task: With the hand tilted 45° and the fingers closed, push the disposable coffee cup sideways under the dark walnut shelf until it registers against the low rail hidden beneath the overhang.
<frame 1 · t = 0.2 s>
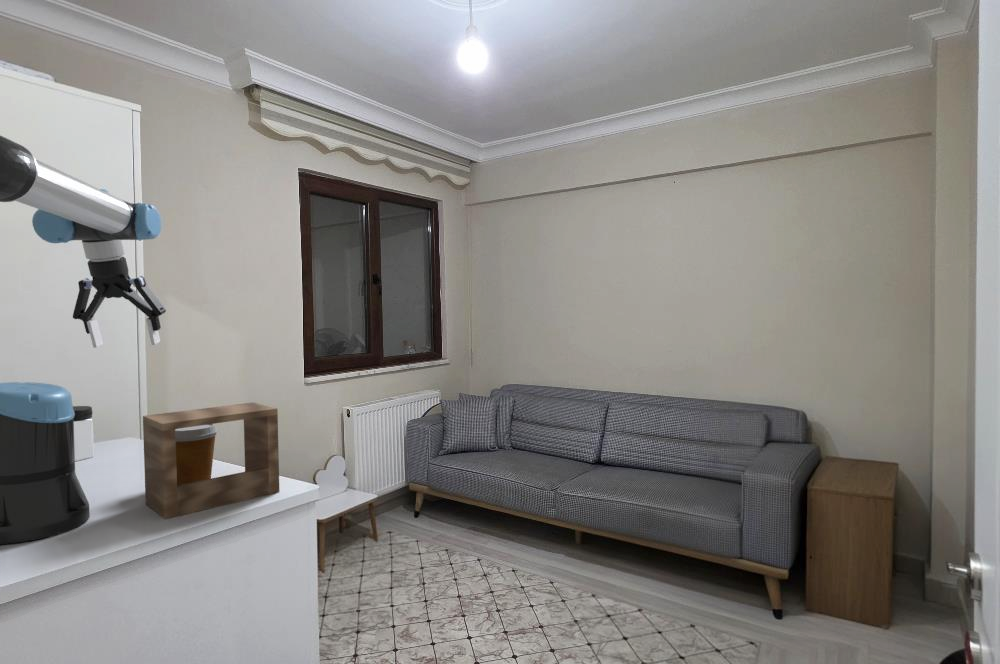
hand: (127, 344, 142), 27 cm above the table, tool tilted 15°, fingers open, 13 cm apart
disposable coffee cup: (193, 486, 118), on the table
walnut shelf: (214, 497, 110), on the table
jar: (73, 459, 141), on the table
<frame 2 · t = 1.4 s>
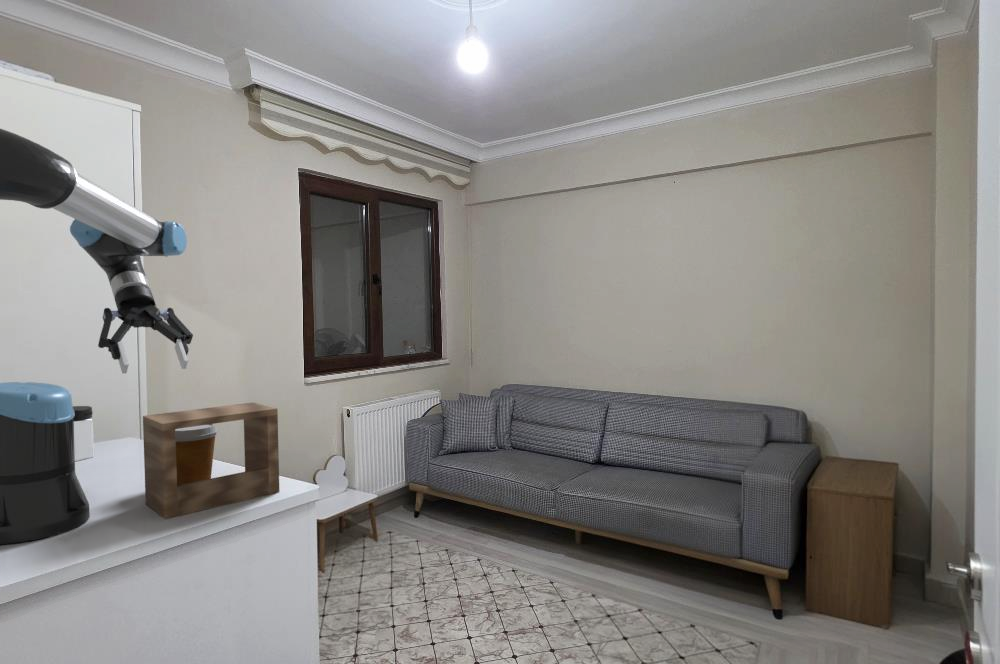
hand: (156, 367, 125), 23 cm above the table, tool tilted 45°, fingers open, 11 cm apart
nothing on the table moved.
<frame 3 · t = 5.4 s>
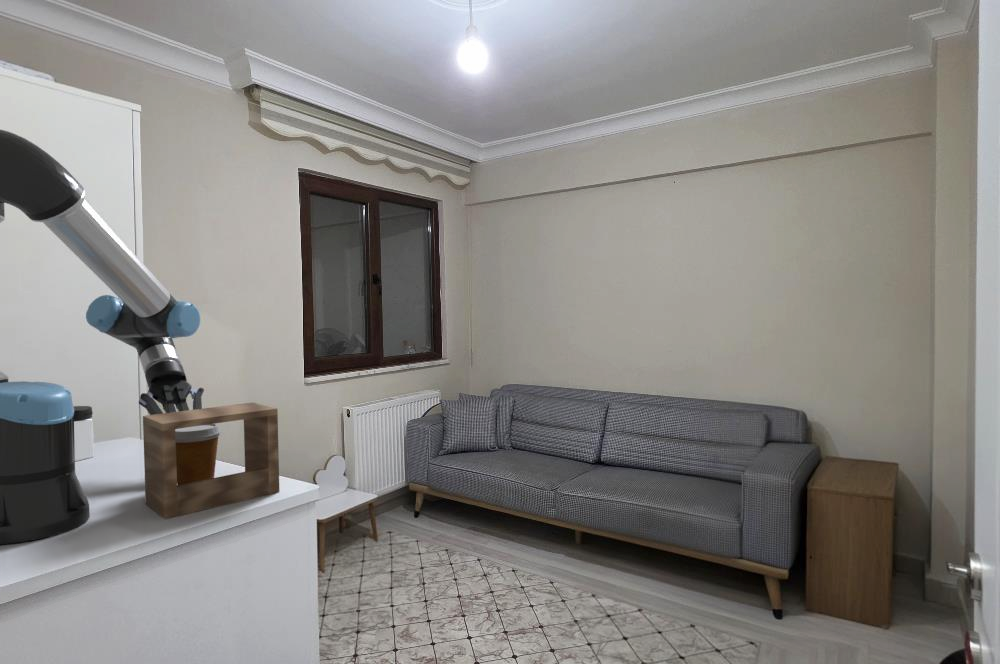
hand: (192, 456, 121), 5 cm above the table, tool tilted 45°, fingers closed
disposable coffee cup: (195, 487, 117), on the table, touching gripper
everything else where it was.
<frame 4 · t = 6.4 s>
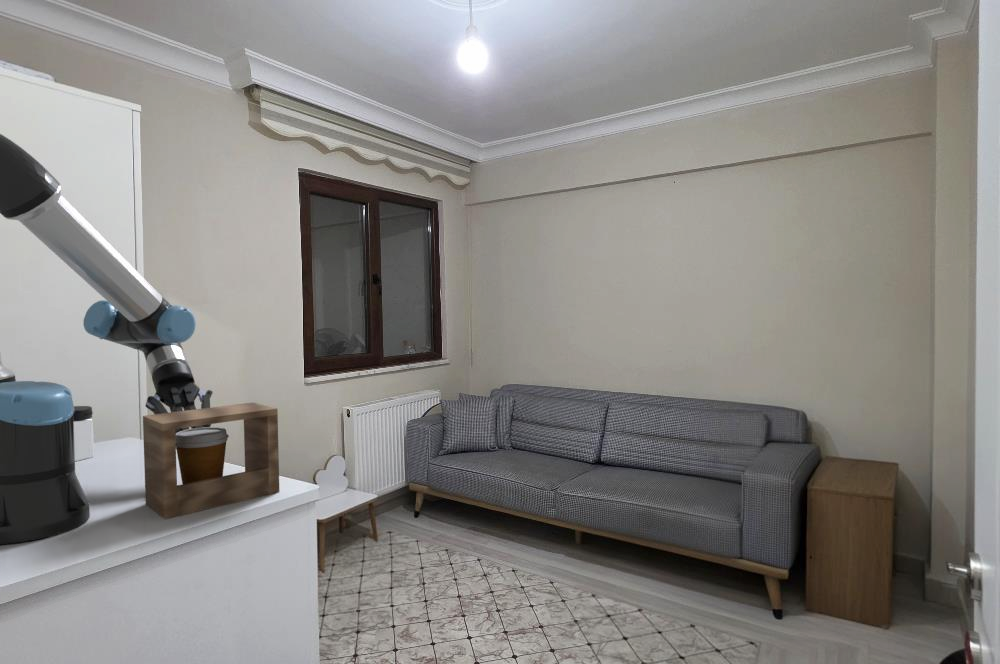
hand: (201, 461, 117), 5 cm above the table, tool tilted 45°, fingers closed
disposable coffee cup: (202, 494, 113), on the table, touching gripper
everything else where it was.
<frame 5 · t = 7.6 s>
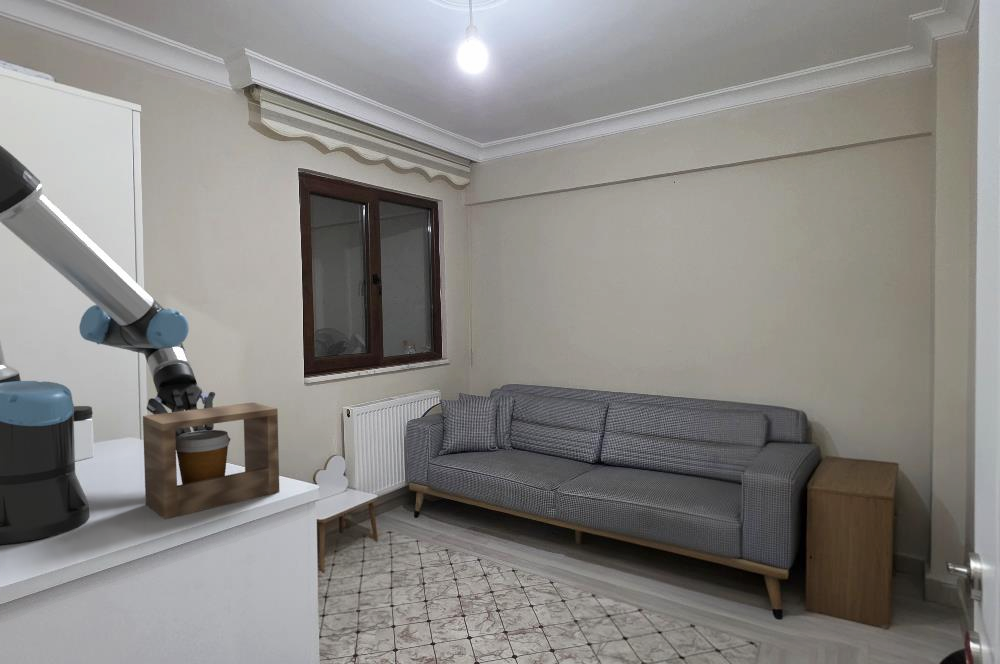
hand: (204, 465, 114), 5 cm above the table, tool tilted 45°, fingers closed
disposable coffee cup: (204, 499, 110), on the table, touching gripper
everything else where it was.
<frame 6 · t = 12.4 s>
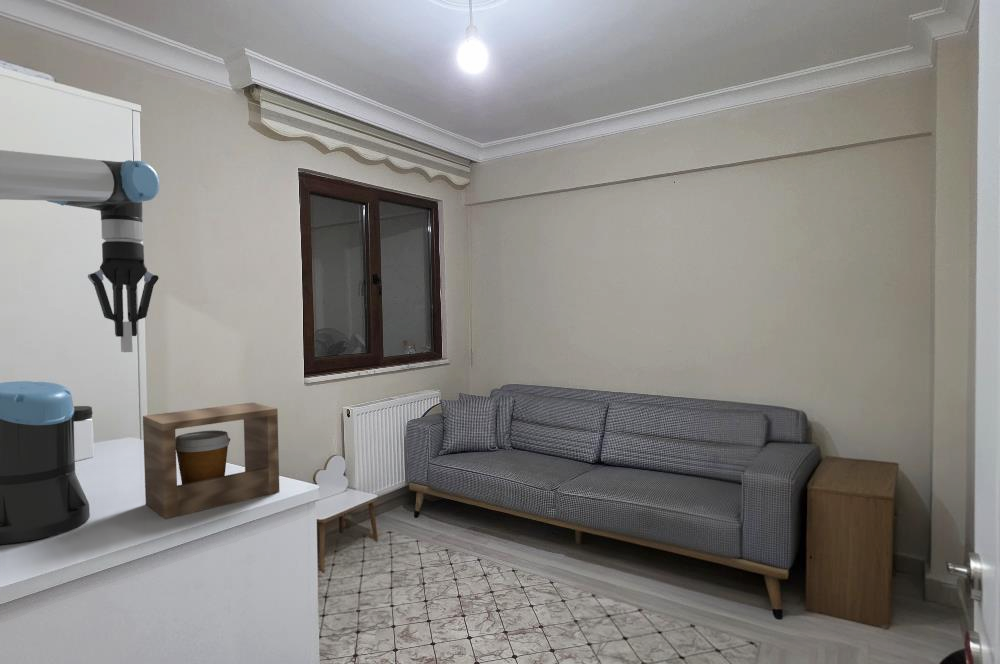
hand: (126, 351, 126), 26 cm above the table, tool pointing down, fingers closed
disposable coffee cup: (203, 499, 109), on the table
everything else where it was.
at the end: disposable coffee cup inside the target area (1.6 cm from its centre), on the table; disposable coffee cup tilted 0°; disposable coffee cup moved 10.7 cm from its start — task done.
